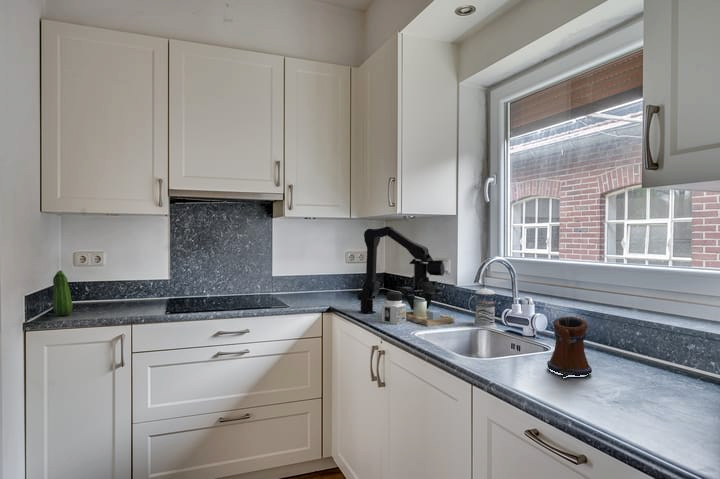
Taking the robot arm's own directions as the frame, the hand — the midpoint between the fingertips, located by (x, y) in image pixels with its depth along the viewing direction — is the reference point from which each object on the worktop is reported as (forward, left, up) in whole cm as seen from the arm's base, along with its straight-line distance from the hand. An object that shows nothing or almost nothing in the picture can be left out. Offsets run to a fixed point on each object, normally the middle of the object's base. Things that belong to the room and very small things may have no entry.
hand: (419, 309), depth 200 cm
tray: (+5, 0, -4) cm, 6 cm away
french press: (+23, +16, -4) cm, 28 cm away
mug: (+82, -10, -4) cm, 83 cm away
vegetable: (-71, -140, -4) cm, 157 cm away
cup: (0, 0, -3) cm, 3 cm away
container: (+2, -15, -4) cm, 16 cm away
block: (+10, 0, -3) cm, 10 cm away
